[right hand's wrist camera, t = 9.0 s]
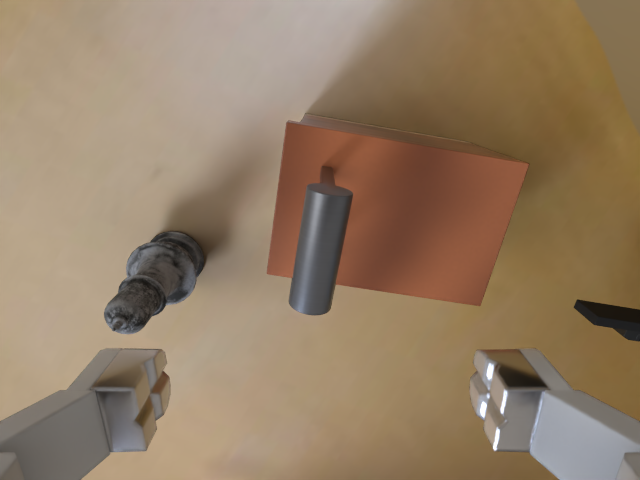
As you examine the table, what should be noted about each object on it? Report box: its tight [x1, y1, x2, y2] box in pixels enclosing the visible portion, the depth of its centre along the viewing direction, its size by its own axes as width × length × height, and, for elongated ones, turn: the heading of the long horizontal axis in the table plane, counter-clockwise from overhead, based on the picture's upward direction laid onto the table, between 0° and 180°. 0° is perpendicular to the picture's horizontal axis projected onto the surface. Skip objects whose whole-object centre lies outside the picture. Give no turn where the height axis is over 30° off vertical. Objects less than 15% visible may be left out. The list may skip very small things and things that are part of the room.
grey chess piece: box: [104, 231, 204, 334], centre depth 32 cm, size 6×6×12 cm
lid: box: [267, 121, 529, 315], centre depth 22 cm, size 14×10×9 cm
